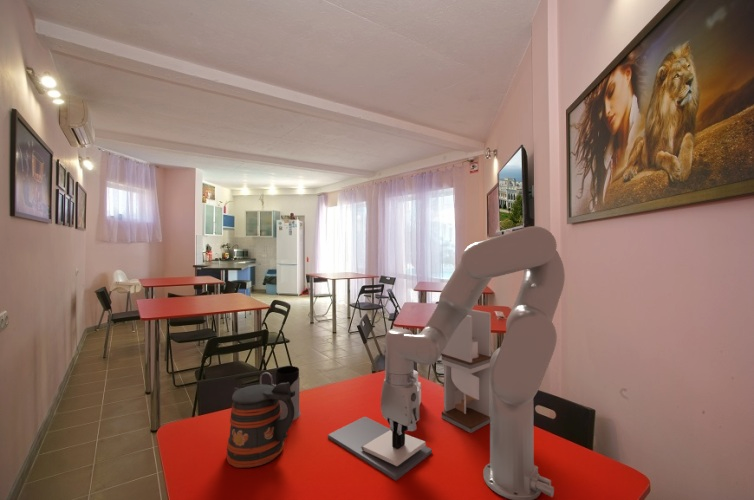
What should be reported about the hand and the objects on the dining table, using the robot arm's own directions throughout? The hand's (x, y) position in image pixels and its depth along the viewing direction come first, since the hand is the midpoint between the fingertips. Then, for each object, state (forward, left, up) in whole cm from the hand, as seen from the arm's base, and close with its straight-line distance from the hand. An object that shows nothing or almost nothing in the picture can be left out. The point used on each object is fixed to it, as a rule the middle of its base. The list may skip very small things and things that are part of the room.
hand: (398, 446), depth 86 cm
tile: (+2, 0, 0) cm, 2 cm away
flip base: (+8, 0, -3) cm, 8 cm away
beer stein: (+28, +24, -3) cm, 37 cm away
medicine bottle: (+17, -26, -3) cm, 31 cm away
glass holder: (+44, +10, -3) cm, 45 cm away
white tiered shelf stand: (-3, -30, -3) cm, 31 cm away
